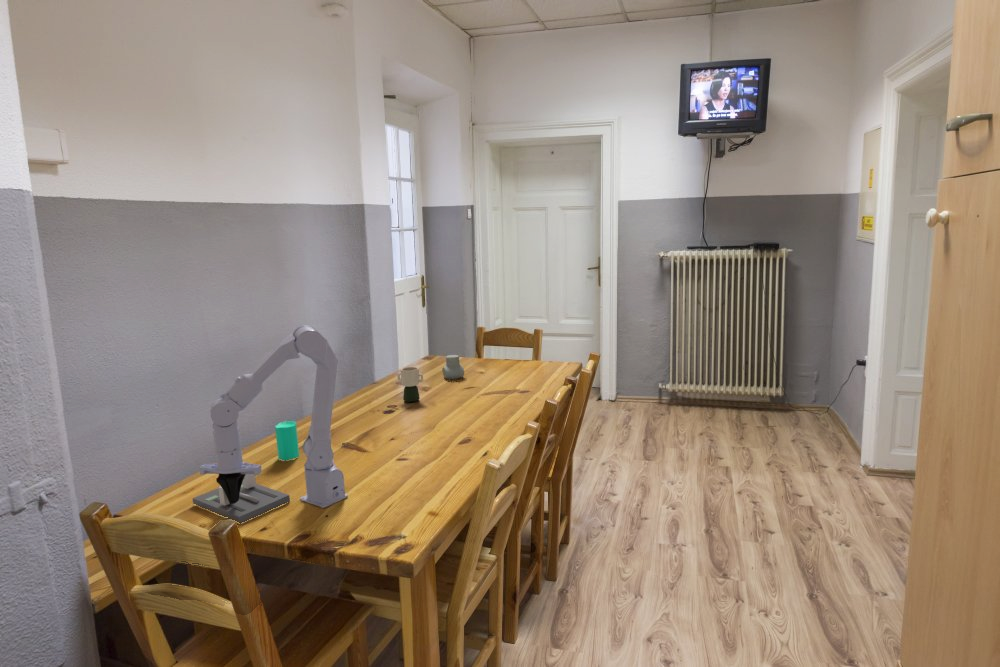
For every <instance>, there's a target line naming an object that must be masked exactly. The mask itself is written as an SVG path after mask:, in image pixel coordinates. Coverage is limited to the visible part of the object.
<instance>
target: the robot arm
mask: <svg viewBox="0 0 1000 667" xmlns="http://www.w3.org/2000/svg"><path fill="white" fill-rule="evenodd" d="M299 353H300V354H302V355H303V356H305V357H307V358H309V359H311V361H312V362H313V363H314V364H315V365H316V371H315V372H316V374H315V382H314V390H313V391H314V392H313V400H312V401H313V402H312V410H311V418H310V426H309V428H308V432H307V437H306V439H305V440H304V441H303V444H302V451H303V453H304V455H305V456H306V461H305V463H304V464H303V465H304V466H303V469H304V478H305V488H306V494H305V495H303V496H300V497H299V500H300V501H302V502H305V503H308V504H310V505H313V504H314V505H313V506H316V507H319V508H322V509H326V508H327V507H329V506H332V505H334V504H335V503H338V502H339V501H342V500H344V499H346V498H348V497H349V495H348V494H347V493H346V490H345V488H346V487H345V478H344V477H345V476H344V473H343V471H342V470H341V469H339V468H338V467H336V464H335V462H334V451H333V449H332V433H331V425H332V419H333V418H332V416H333V408H334V399H335V389H336V382H337V381H336V380H337V372H338V365H339V364H338V358H337V356H336V354H335V353H334V350H333V349H332V347H331V345H330V344H329V342H328V339H327V338H325V337H324V336H323V335H322V334H321V333H320V332H319V331H318V330H317V329H316V328H314V327H313V326H311V325H308V324H307V325H300V326H298V327H297V328H296V329H294V331H293V333H290V334H288V335H287V336H286V337H285V338H284V339H283V340H282V341H281V342H280V343H279V344H278V345H277V346H276V347H275V348H274V350H273V351H272V352H271V353H270V354H269V355H268V356H267V357H266V358H265V359H264V360H263V361H262V362H261V363H260V364H259V366H257V368H256V369H255V370H253V372H252V373H244V374H243V375H241V376H237V377H235V379H234V382H235V383H233V385H232V386H231V387H229V389H228V390H226V392H222V393H220V395H219V397H220V398H217V399H215V400H214V401H213V402H212V405H211V406H210V407H211V408H210V410H209V411H210V418H211V420H212V429H213V432H212V434H213V445H214V450H215V451H214V452H215V460H216V463H215V462H214V463H204V464H202V465H201V466H199V474H200V475H201V476H204V475H205V476H206V474H210V475H211V474H212V475H213V474H217V475H218V477H217V478H216V479H215V482H216V483H217V484H218V486H221V487H222V489H223V490H224V492H225V494H226V496H227V498H228V501H229V503H230V504H235V503H236V502H237V501H239V494H240V489H241V485H242V482H243V479H244V477H245V475H246V474H254V475H255V476H259V475H260V474H261V473H262V472H263V471H262V470H263V469H262V464H256V463H250V462H245V461H243V460H244V459H243V452H242V450H243V449H242V444H241V443H242V442H241V434H240V428H239V426H238V419H239V412H241V411H243V410H245V409H246V408H247V407H248V405H250V404H251V402H252V401H253V400H255V399H256V397H257V396H259V394H260V393H261V392H263V383H264V382H265V381H266V380H267V379H268V378H269V377H270V376H271V375H273V374H274V372H276V371H277V370H278V369H279V368H280V367H281V366H282V365H283V364H285V363H286V362H287V361H288V360H293V359H299V358H301V356H300V355H299Z"/></svg>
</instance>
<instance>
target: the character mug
mask: <svg viewBox="0 0 1000 667" xmlns="http://www.w3.org/2000/svg"><path fill="white" fill-rule="evenodd" d="M396 376H397V381H398V382H401V386H403V387H404V389H403V401H404V402H406V403H411V402H412V403H413V402H417V401H418V400H420V392H419V387H418V386H419V384H420V383H422V382H424V374H423V373H420V368H419V367H417V366H406V367H402V368H401V369H400V372H398V373H397V375H396Z"/></svg>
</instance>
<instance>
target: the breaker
mask: <svg viewBox="0 0 1000 667" xmlns="http://www.w3.org/2000/svg"><path fill="white" fill-rule="evenodd" d="M256 484H257V482H256V475H254V474H246V475H245V477H244V479H243V487H244V488H247V489H248V488H251V487H253V486H256Z"/></svg>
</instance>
